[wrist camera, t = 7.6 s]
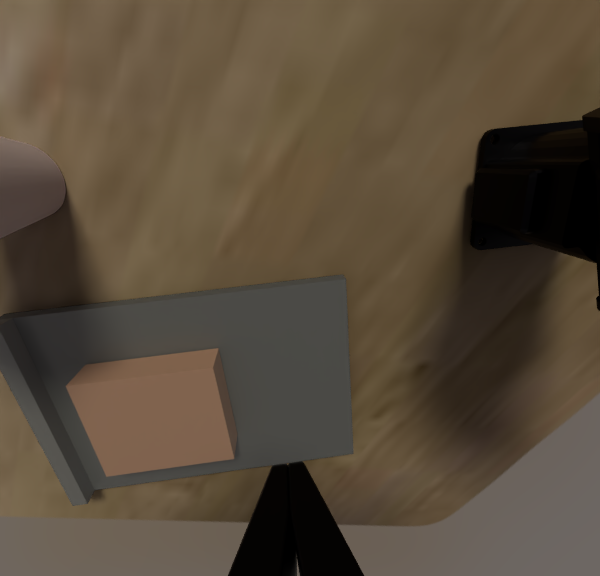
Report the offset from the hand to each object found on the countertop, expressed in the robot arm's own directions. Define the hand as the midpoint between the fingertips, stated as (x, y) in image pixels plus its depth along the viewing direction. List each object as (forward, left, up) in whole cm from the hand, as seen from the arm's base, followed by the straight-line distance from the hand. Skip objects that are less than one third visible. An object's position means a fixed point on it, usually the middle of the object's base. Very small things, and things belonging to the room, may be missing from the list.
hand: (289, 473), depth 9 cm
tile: (+4, +6, -10) cm, 12 cm away
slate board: (+6, +6, -12) cm, 15 cm away
